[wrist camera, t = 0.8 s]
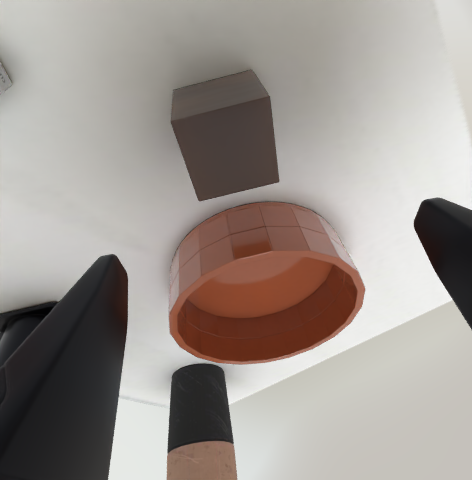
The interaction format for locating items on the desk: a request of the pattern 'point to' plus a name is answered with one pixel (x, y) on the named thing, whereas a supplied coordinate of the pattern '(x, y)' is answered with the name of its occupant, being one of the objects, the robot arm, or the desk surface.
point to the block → (226, 134)
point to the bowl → (261, 285)
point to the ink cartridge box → (4, 80)
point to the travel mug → (200, 426)
